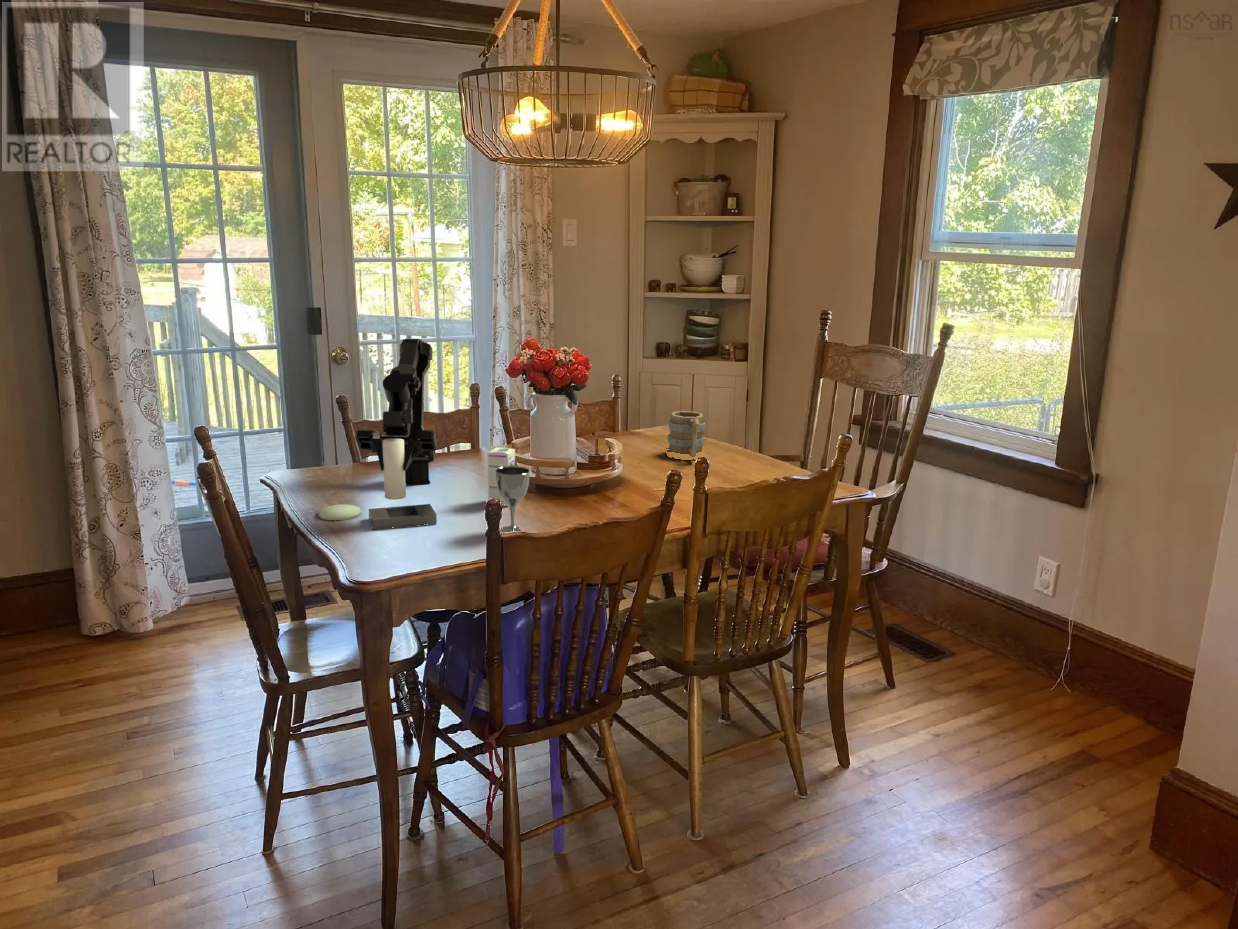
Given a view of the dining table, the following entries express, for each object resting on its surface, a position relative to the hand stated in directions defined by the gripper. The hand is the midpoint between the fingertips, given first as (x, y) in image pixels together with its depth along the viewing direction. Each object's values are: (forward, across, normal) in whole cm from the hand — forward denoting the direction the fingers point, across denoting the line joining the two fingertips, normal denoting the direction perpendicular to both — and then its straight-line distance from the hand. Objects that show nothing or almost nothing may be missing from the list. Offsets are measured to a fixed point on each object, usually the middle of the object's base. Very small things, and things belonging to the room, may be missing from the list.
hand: (393, 469), depth 213 cm
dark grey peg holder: (+9, +2, +10) cm, 14 cm away
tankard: (-37, +82, +57) cm, 106 cm away
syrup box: (-2, +25, +22) cm, 33 cm away
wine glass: (+13, +29, +6) cm, 32 cm away
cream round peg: (+4, 0, +6) cm, 7 cm away
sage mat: (+5, -15, +14) cm, 21 cm away
